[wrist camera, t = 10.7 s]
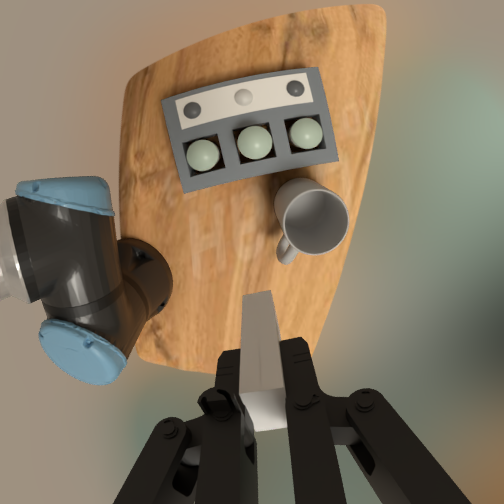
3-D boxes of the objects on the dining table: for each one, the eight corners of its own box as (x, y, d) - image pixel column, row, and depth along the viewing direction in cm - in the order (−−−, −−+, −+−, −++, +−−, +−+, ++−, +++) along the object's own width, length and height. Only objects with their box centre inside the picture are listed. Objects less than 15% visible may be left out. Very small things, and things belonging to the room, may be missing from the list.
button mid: (242, 160, 36) (241, 162, 32) (236, 132, 35) (234, 130, 31) (272, 154, 36) (275, 155, 32) (266, 125, 35) (268, 122, 31)
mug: (291, 167, 40) (305, 174, 30) (336, 194, 41) (362, 210, 31) (253, 233, 44) (254, 260, 34) (298, 256, 45) (311, 288, 35)
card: (182, 129, 33) (181, 129, 33) (175, 100, 32) (174, 100, 31) (312, 102, 32) (313, 101, 32) (305, 73, 31) (306, 72, 30)
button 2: (196, 171, 39) (190, 174, 35) (190, 144, 37) (183, 144, 33) (224, 164, 38) (221, 166, 34) (217, 137, 37) (213, 136, 33)
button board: (190, 188, 41) (184, 193, 37) (169, 104, 36) (160, 100, 32) (330, 159, 39) (339, 161, 35) (311, 74, 34) (317, 66, 30)
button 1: (290, 150, 38) (294, 151, 34) (284, 123, 36) (288, 120, 32) (317, 146, 37) (325, 146, 33) (311, 119, 36) (319, 116, 32)
